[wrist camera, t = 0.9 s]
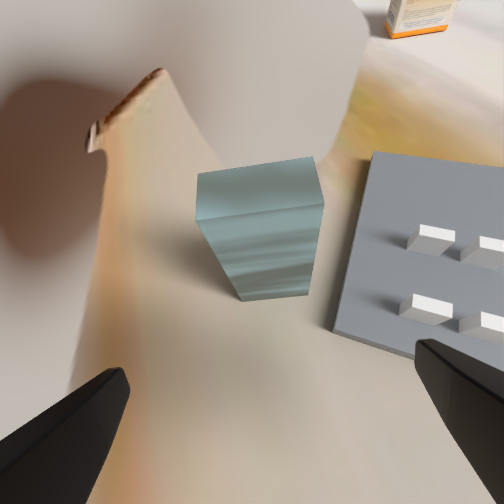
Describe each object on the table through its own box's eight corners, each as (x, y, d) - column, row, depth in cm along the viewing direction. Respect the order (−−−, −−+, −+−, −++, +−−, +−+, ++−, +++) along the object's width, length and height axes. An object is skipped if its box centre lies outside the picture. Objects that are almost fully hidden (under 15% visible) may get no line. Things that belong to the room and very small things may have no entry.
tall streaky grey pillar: (307, 295, 23) (324, 203, 11) (241, 301, 23) (195, 220, 12) (301, 257, 25) (310, 145, 13) (240, 264, 25) (198, 163, 14)
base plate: (561, 408, 17) (632, 413, 13) (331, 332, 21) (339, 321, 18) (532, 184, 25) (571, 151, 21) (370, 161, 29) (381, 130, 26)
